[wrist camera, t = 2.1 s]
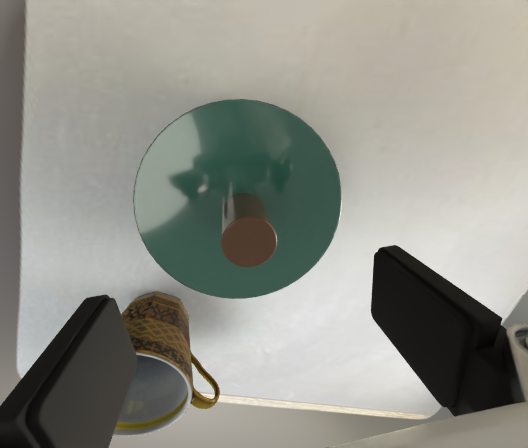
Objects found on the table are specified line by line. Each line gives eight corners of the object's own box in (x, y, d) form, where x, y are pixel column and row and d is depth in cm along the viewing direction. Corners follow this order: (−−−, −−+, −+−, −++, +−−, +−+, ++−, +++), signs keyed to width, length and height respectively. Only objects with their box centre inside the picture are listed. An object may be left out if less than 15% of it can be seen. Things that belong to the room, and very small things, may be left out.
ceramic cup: (100, 333, 30) (46, 425, 21) (130, 265, 28) (83, 336, 19) (203, 361, 34) (195, 450, 25) (238, 304, 32) (243, 379, 22)
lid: (358, 121, 18) (418, 120, 13) (313, 293, 23) (341, 349, 18) (137, 80, 16) (86, 55, 10) (139, 285, 21) (106, 348, 15)
